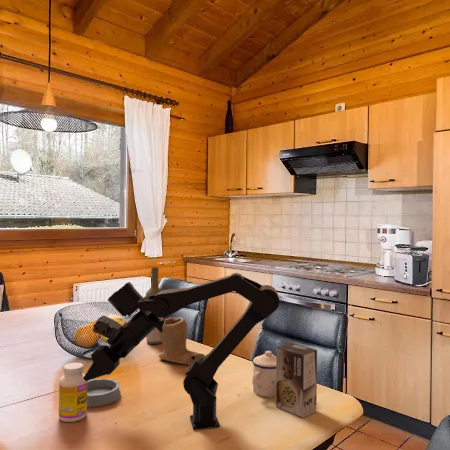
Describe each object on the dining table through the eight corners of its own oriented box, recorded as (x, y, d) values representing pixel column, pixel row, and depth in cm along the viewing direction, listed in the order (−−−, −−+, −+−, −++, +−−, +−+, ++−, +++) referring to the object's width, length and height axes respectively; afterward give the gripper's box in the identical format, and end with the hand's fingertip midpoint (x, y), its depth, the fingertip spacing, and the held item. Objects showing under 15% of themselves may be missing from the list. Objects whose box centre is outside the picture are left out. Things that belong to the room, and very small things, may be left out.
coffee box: (317, 410, 110) (318, 349, 110) (303, 418, 106) (304, 355, 106) (289, 399, 117) (290, 341, 117) (274, 406, 112) (275, 346, 112)
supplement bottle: (77, 424, 102) (78, 371, 101) (53, 421, 103) (53, 369, 103) (92, 412, 108) (92, 362, 108) (68, 409, 109) (68, 360, 109)
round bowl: (119, 405, 112) (119, 394, 112) (70, 409, 110) (70, 397, 109) (121, 386, 124) (121, 376, 124) (77, 389, 122) (77, 379, 122)
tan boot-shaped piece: (150, 361, 146) (150, 318, 146) (173, 352, 156) (174, 312, 156) (182, 371, 137) (182, 325, 137) (205, 361, 147) (205, 318, 147)
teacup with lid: (263, 382, 129) (264, 344, 128) (289, 390, 123) (290, 351, 123) (240, 395, 119) (240, 354, 119) (267, 404, 114) (267, 361, 113)
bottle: (152, 339, 172) (153, 266, 172) (166, 341, 169) (167, 267, 169) (141, 343, 166) (142, 268, 166) (156, 346, 163) (157, 269, 162)
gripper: (125, 299, 114) (84, 338, 115) (100, 315, 95) (52, 361, 96) (153, 329, 113) (112, 368, 114) (134, 351, 95) (85, 397, 96)
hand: (92, 372), depth 105 cm, fingers open, 9 cm apart
